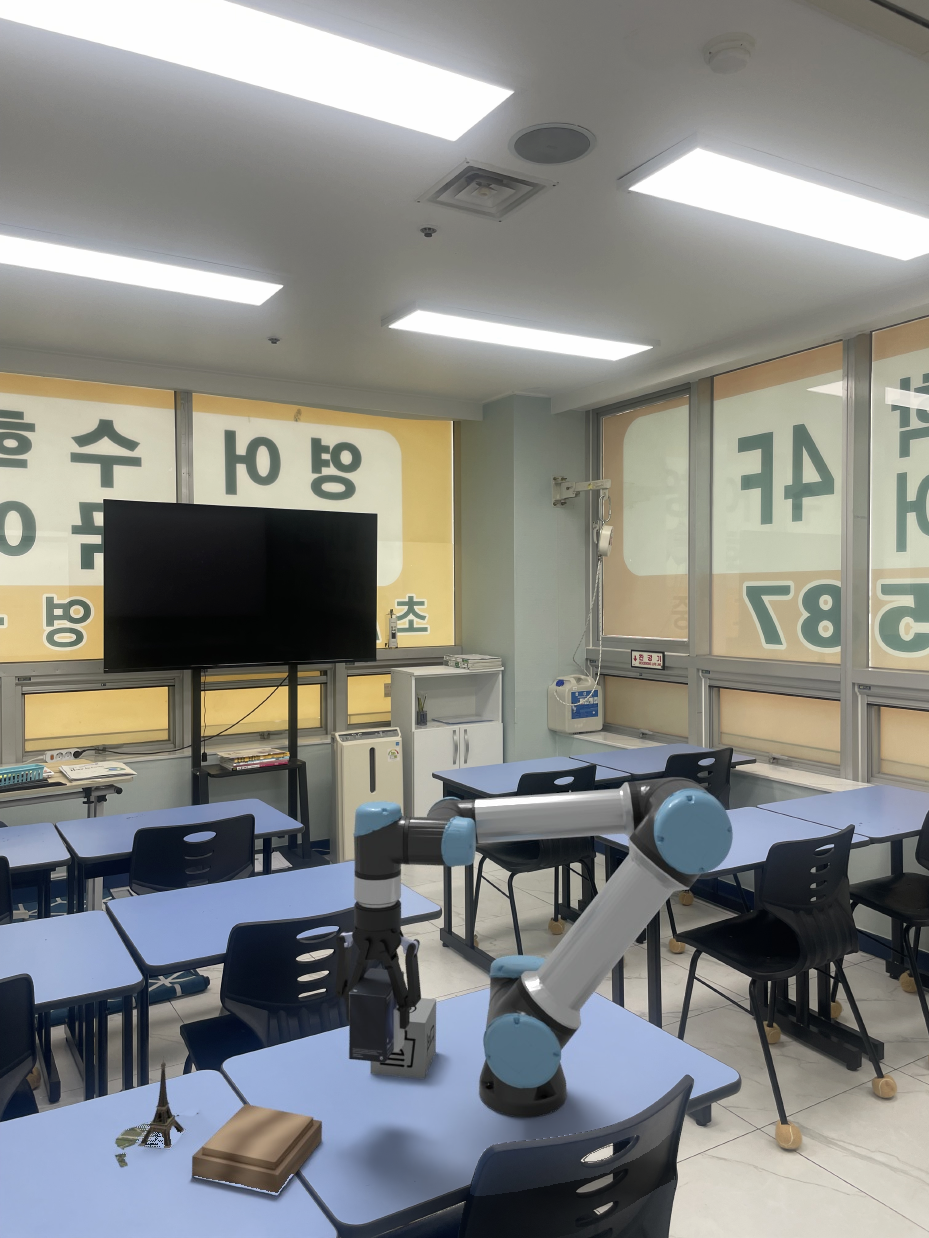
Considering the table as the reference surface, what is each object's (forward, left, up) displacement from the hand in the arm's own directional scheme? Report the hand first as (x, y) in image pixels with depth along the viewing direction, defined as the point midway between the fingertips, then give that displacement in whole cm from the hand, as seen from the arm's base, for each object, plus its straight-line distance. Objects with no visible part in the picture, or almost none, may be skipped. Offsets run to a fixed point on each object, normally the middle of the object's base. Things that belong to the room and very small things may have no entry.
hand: (377, 1043), depth 139 cm
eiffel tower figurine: (+32, +12, -15) cm, 37 cm away
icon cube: (+4, -22, -14) cm, 26 cm away
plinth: (+14, +12, -14) cm, 23 cm away
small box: (0, 0, -1) cm, 1 cm away
